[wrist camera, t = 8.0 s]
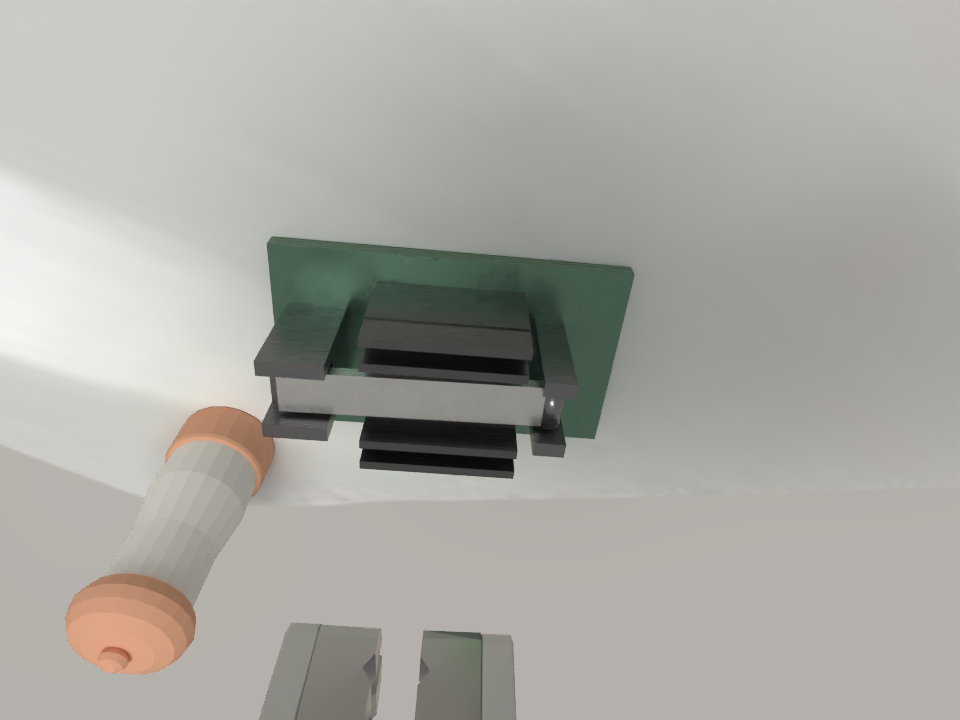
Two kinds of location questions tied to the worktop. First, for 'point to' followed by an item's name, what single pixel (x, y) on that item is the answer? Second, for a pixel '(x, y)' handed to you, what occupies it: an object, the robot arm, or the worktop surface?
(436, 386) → the steel strap
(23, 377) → the worktop surface
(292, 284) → the cooling board
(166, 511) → the pepper shaker
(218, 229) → the worktop surface
